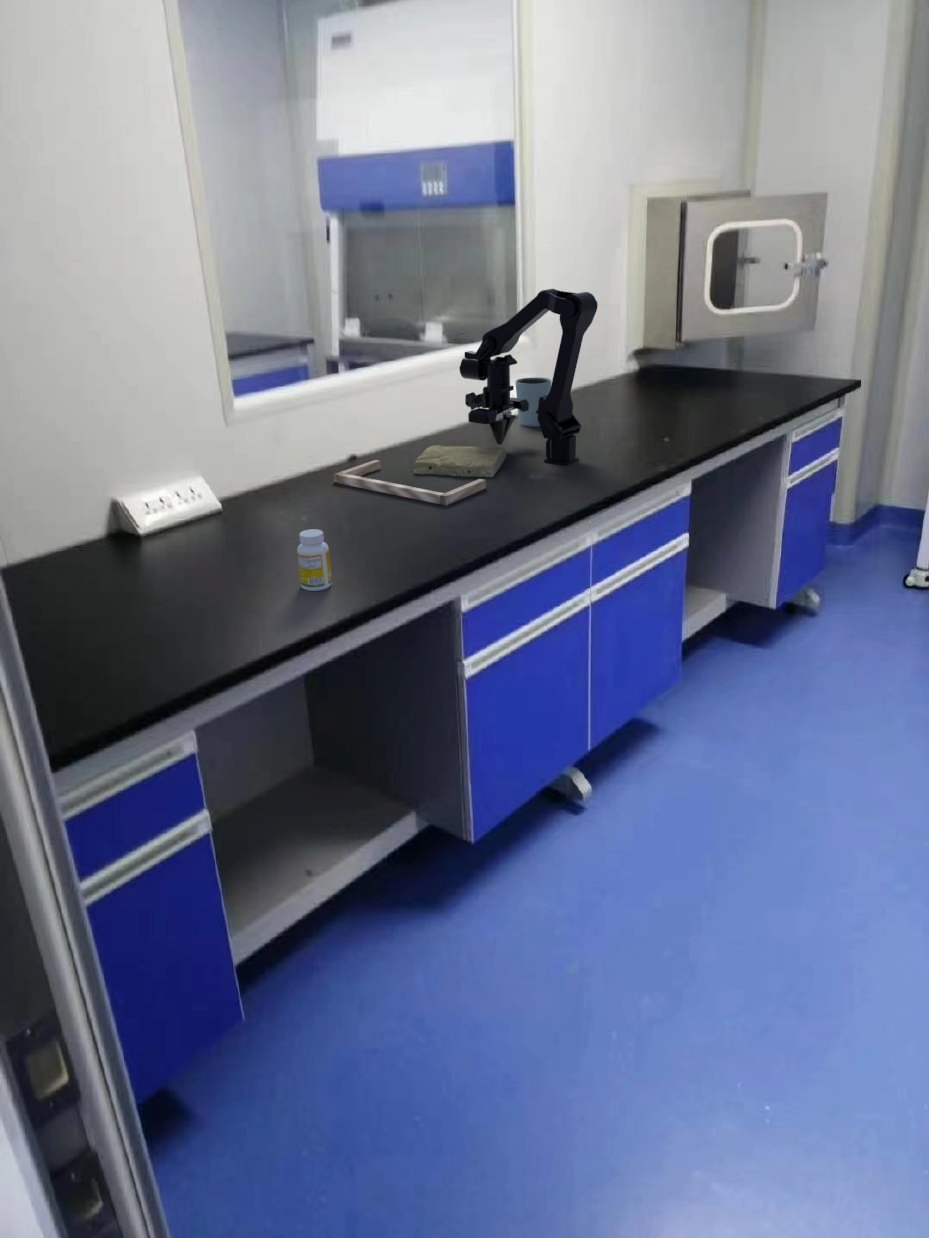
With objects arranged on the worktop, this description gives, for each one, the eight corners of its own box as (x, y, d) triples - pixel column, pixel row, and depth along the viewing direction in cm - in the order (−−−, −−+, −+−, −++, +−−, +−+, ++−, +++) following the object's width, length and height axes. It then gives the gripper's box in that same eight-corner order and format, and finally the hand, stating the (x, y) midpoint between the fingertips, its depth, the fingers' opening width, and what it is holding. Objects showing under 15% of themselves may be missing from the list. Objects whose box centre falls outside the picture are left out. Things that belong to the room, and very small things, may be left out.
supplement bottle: (315, 594, 158) (309, 540, 154) (294, 587, 161) (288, 534, 157) (338, 584, 162) (333, 531, 158) (317, 577, 165) (312, 525, 161)
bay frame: (485, 488, 210) (485, 479, 209) (446, 505, 200) (445, 496, 199) (376, 467, 228) (375, 459, 228) (334, 482, 218) (333, 474, 217)
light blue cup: (533, 429, 259) (533, 385, 254) (508, 423, 266) (507, 380, 261) (558, 422, 265) (559, 379, 260) (533, 417, 272) (533, 375, 267)
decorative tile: (428, 457, 238) (428, 443, 237) (506, 458, 234) (506, 444, 233) (410, 477, 222) (409, 463, 220) (493, 479, 218) (493, 464, 216)
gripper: (494, 373, 244) (495, 432, 250) (449, 386, 230) (452, 448, 237) (529, 377, 237) (530, 438, 244) (486, 390, 224) (487, 454, 231)
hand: (499, 444), depth 239 cm, fingers closed
